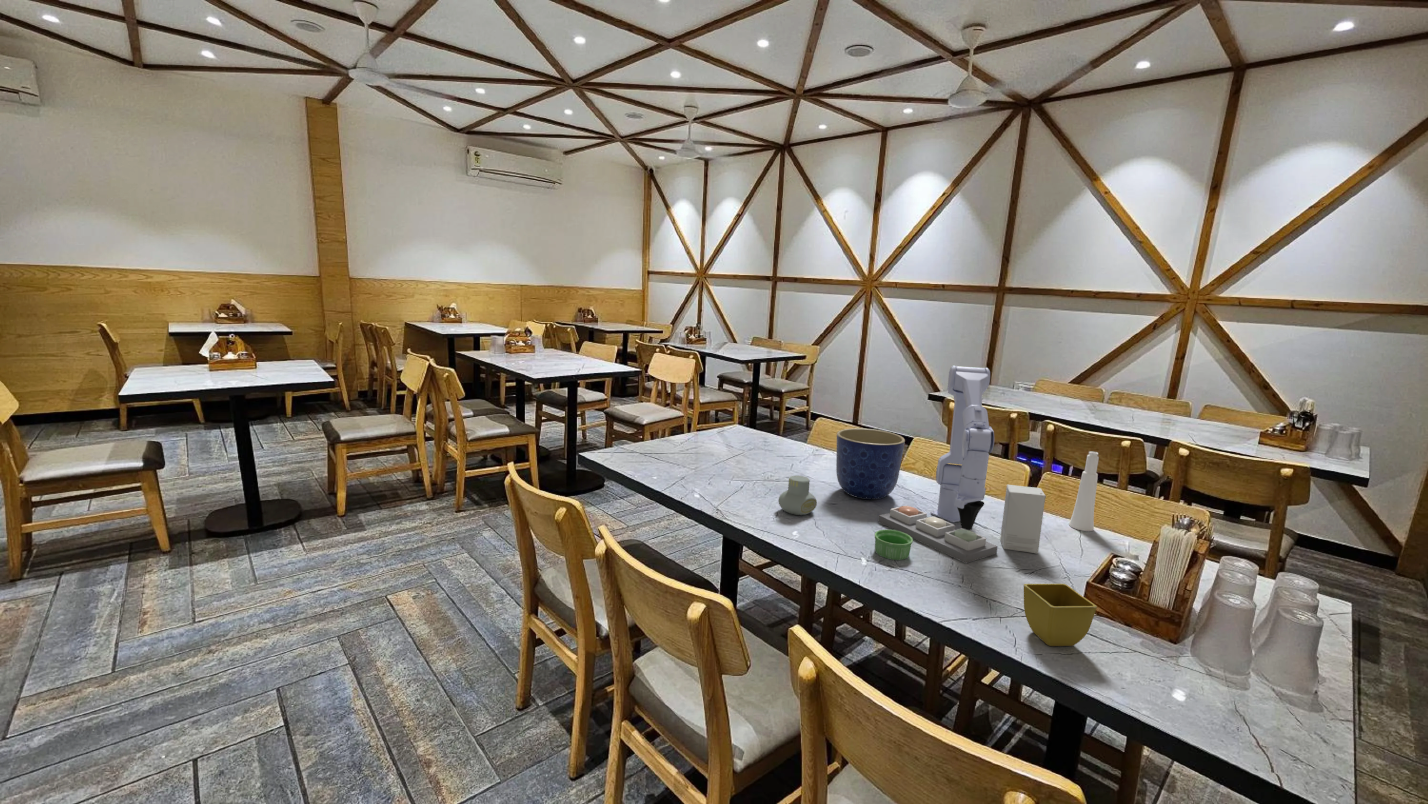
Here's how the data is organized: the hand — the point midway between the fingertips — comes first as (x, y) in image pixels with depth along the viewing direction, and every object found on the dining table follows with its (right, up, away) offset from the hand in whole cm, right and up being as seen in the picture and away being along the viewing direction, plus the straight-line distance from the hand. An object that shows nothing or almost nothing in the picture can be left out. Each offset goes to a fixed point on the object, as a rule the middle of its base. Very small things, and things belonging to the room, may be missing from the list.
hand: (966, 528), depth 146 cm
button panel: (-5, -4, +9) cm, 11 cm away
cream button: (-5, -2, +8) cm, 10 cm away
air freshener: (-39, 0, +23) cm, 45 cm away
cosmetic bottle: (+41, -4, +20) cm, 46 cm away
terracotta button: (-9, 0, +16) cm, 18 cm away
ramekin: (-19, -6, -2) cm, 20 cm away
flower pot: (0, -13, -36) cm, 39 cm away
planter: (-15, +2, +40) cm, 43 cm away
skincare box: (+15, -6, +4) cm, 17 cm away
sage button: (0, -4, +1) cm, 4 cm away
